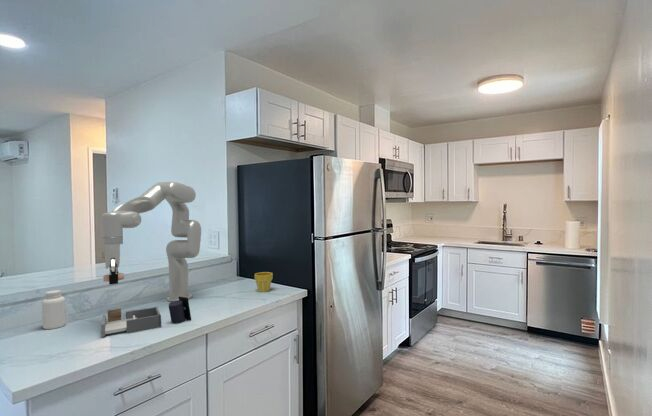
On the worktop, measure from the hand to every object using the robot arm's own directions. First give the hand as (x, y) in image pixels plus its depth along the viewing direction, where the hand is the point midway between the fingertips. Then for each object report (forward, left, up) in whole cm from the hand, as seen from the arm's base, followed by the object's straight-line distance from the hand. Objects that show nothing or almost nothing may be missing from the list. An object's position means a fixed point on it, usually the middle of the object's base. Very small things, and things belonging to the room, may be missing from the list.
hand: (114, 281), depth 152 cm
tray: (+9, +3, -18) cm, 20 cm away
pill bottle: (-12, -22, -18) cm, 31 cm away
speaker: (+13, +24, -18) cm, 33 cm away
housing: (+9, +10, -18) cm, 22 cm away
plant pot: (-17, +74, -18) cm, 78 cm away
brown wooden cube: (-3, 0, -18) cm, 18 cm away
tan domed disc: (0, 0, +1) cm, 1 cm away
